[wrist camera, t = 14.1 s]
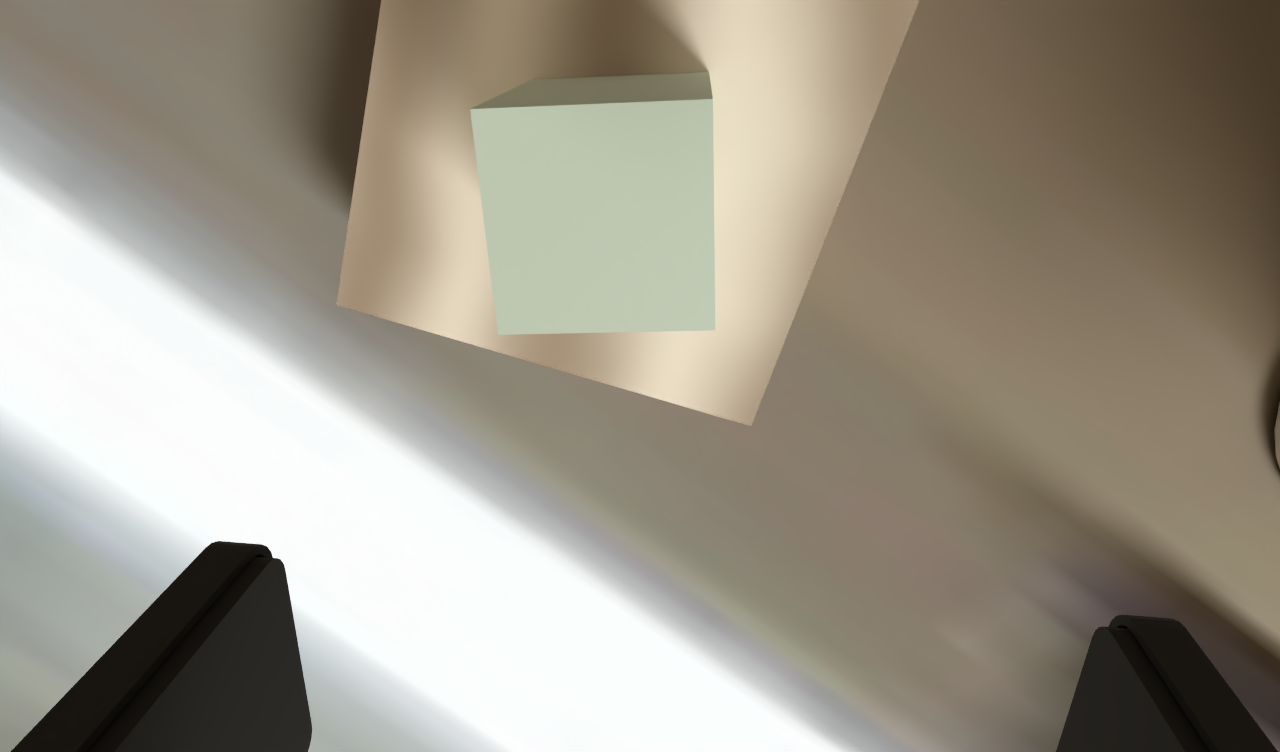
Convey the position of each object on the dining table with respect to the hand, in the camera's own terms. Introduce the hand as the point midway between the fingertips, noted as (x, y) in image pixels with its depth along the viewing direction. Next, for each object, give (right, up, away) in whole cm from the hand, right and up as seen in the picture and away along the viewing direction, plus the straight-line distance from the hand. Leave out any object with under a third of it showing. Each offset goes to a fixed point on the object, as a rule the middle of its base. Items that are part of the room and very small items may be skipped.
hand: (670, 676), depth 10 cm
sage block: (-1, +10, +15) cm, 18 cm away
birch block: (-1, +12, +20) cm, 24 cm away
